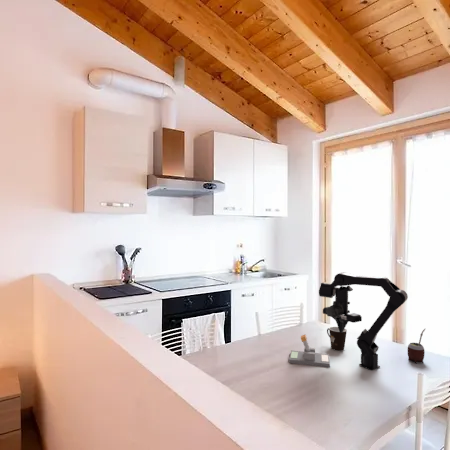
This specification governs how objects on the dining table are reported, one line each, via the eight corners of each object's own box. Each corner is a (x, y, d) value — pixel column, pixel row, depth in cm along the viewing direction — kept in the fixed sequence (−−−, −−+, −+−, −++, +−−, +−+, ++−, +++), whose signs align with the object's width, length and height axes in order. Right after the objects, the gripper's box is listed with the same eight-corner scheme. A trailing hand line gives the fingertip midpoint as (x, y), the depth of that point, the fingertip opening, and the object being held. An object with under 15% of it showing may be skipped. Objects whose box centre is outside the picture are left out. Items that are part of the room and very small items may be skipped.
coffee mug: (348, 351, 177) (349, 332, 176) (331, 351, 177) (331, 331, 177) (341, 343, 188) (341, 325, 188) (325, 343, 188) (325, 325, 188)
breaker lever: (312, 353, 167) (305, 334, 168) (312, 356, 163) (305, 336, 164) (308, 354, 167) (301, 335, 168) (307, 357, 164) (300, 338, 165)
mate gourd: (407, 362, 164) (407, 330, 164) (407, 356, 171) (408, 326, 171) (425, 365, 161) (426, 333, 160) (425, 359, 168) (425, 328, 167)
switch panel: (328, 357, 169) (329, 348, 169) (329, 367, 157) (329, 357, 157) (291, 353, 174) (291, 344, 174) (289, 362, 162) (289, 353, 162)
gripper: (314, 297, 170) (314, 329, 170) (346, 305, 154) (345, 340, 154) (330, 295, 176) (330, 326, 176) (362, 302, 160) (362, 336, 160)
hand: (341, 332), depth 166 cm, fingers closed
